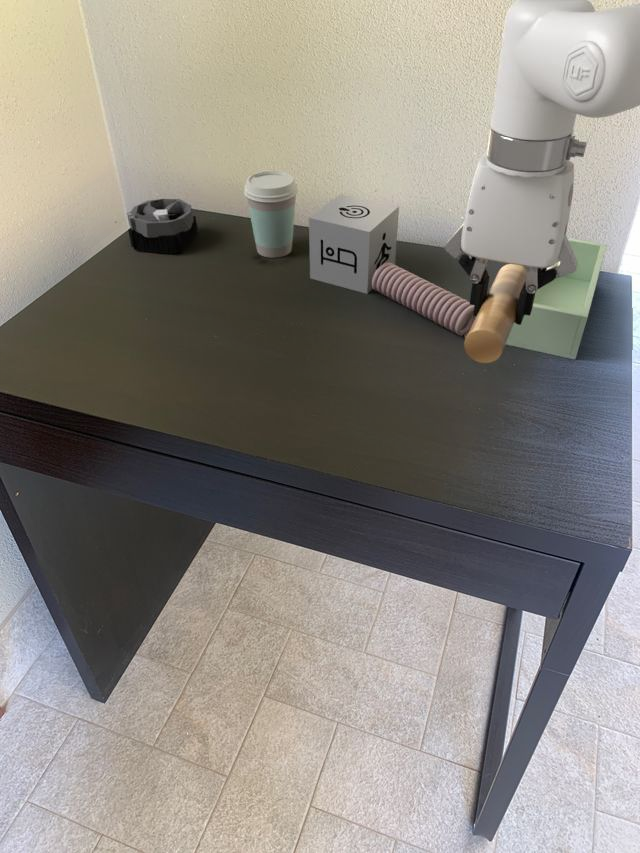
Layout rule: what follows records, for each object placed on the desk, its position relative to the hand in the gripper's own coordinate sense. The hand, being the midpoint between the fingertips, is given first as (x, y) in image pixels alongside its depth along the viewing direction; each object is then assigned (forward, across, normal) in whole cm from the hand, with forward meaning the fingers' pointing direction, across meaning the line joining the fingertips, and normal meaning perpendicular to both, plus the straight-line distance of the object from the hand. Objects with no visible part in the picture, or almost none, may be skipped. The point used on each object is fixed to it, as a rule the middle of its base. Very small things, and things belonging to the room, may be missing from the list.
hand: (499, 313), depth 77 cm
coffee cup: (+11, +42, -25) cm, 50 cm away
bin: (+12, -4, -23) cm, 26 cm away
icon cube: (+11, +26, -23) cm, 37 cm away
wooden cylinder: (+1, -1, 0) cm, 2 cm away
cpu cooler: (+11, +60, -21) cm, 65 cm away
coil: (+12, +13, -16) cm, 23 cm away
